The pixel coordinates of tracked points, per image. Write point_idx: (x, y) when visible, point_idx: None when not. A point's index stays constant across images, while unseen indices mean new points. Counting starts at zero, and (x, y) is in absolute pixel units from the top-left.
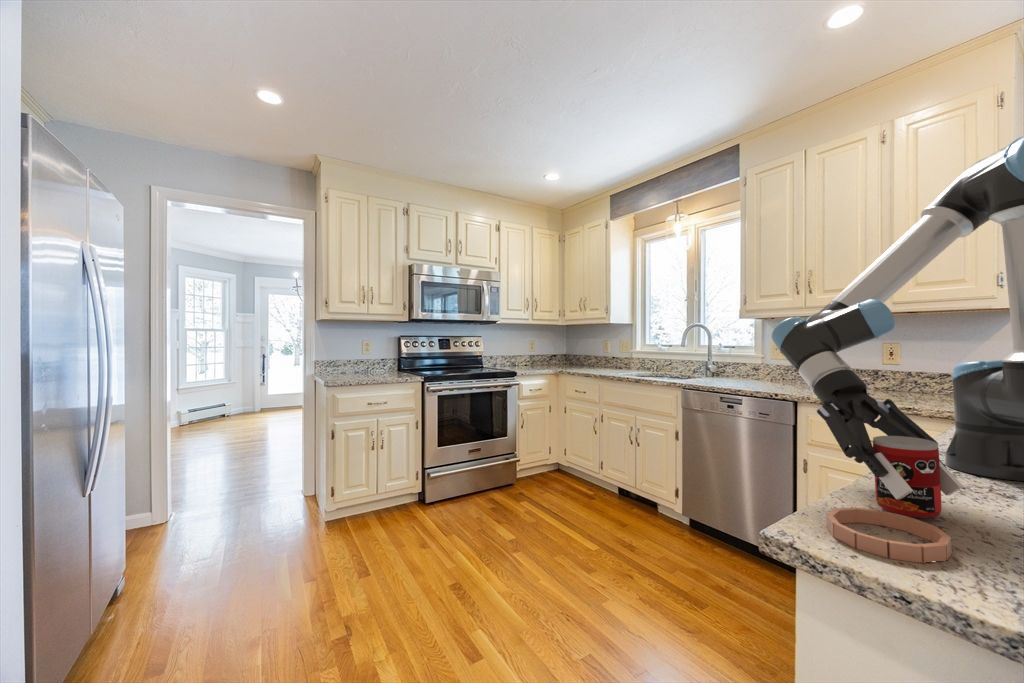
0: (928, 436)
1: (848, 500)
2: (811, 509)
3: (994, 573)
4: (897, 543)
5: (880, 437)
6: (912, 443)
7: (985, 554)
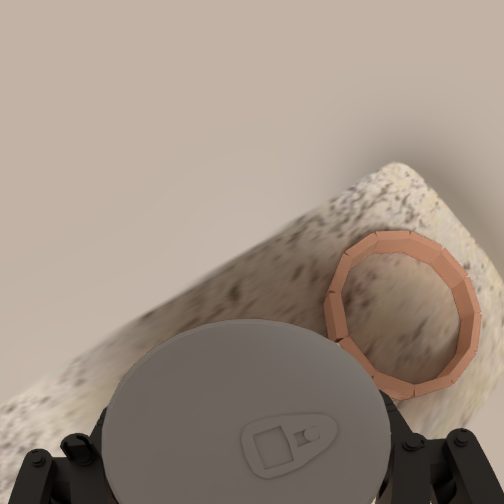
0: (25, 479)
1: None
2: None
3: (332, 217)
4: (434, 242)
5: None
6: (217, 430)
7: (288, 259)
